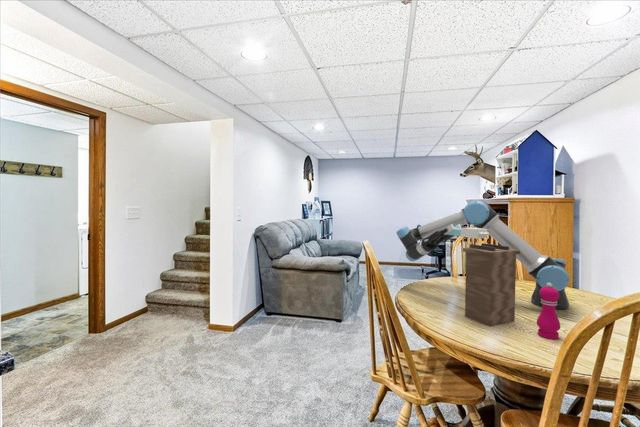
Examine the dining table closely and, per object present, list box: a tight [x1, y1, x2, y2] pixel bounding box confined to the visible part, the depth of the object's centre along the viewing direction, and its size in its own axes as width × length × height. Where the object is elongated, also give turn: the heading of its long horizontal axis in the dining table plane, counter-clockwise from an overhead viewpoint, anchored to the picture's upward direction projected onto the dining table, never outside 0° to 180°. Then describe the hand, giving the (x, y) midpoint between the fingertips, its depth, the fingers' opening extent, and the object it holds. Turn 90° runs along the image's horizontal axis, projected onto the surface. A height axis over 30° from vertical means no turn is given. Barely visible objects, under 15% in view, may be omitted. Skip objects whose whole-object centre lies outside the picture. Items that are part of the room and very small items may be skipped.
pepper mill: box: [536, 283, 561, 340], centre depth 118 cm, size 7×7×20 cm
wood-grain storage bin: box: [462, 242, 520, 327], centre depth 135 cm, size 17×14×32 cm
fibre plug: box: [443, 227, 490, 239], centre depth 147 cm, size 6×23×4 cm, turn 23°
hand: (456, 226), depth 151 cm, fingers closed on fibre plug, 4 cm apart
